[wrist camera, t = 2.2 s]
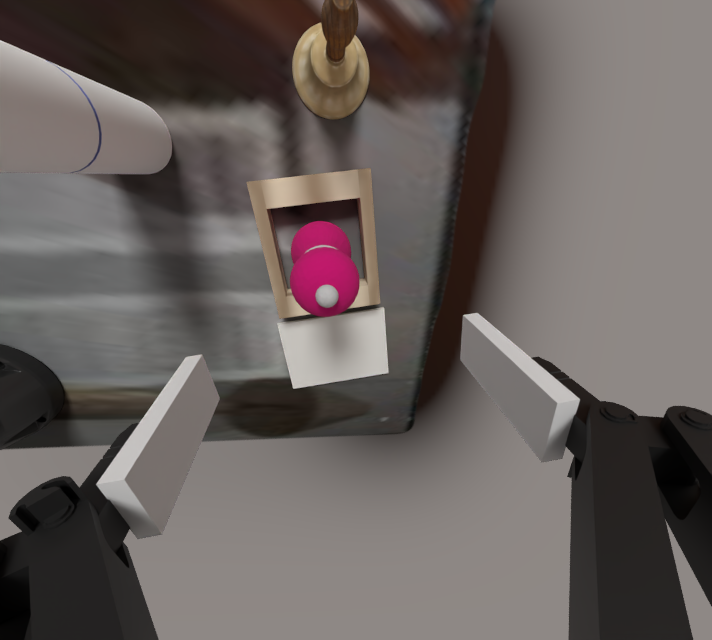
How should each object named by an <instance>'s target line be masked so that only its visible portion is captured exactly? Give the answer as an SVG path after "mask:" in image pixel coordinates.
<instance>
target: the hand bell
mask: <svg viewBox="0 0 712 640" xmlns="http://www.w3.org/2000/svg"><path fill="white" fill-rule="evenodd" d="M357 26H358V8H357V4H356V1H355V0H325V1H324V3H323V7H322V14H321V23H319V24H316V25H314V26H312V27H311V28H309V29H308V30H307V31H306V32H305V33H304V34H303V35H302V37H301V38H300V40H299V42H298V44H297V46H296V48H295V52H294V56H293V64H292V71H293V79H294V83H295V87H296V89H297V92H298V94H299V96H300V98H301V100H302V101H303V102H304V104H305V105H306V106H307V107H308V108H309V109H310V110H311V111H312V112H314V113H315V114H317V115H318V116H320V117H323V118H326V119H341V118H344V117H346V116H348V115H350V114H352V113H353V112H354V111H355V110H356V109H357V108H358V107H359V106H360V104H361V103H362V101H363V99H364V97H365V95H366V92H367V89H368V84H369V64H368V59H367V56H366V52H365V50H364V48H363V46H362V44H361V42H360V41H359V39H358V38H357V37H356V35H355V33H356V30H357Z"/></svg>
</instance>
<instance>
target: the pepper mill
mask: <svg viewBox="0 0 712 640" xmlns="http://www.w3.org/2000/svg"><path fill="white" fill-rule="evenodd" d="M291 255H292V260H293V263H294V266H293V269H292V271H291V276H290V287H291V291H292V294H293V297H294V298H295V300H296V302H297V303H298V304H299V305H300V307H301V308H303V309H304V310H305V311H307V312H308V313H310V314H313V315H316V316H320V317H330V316H335V315H338V314H340V313H342V312H344V311H345V310H347V309H348V308H349V307H350V306H351V305H352V304H353V302H354V301H355V299H356V297H357V295H358V291H359V284H360V281H359V274H358V270H357V268H356V266H355V264H354V262H353V261H352V260H351V247H350V243H349V240H348V238H347V236H346V234H345V233H344V232H343V231H342V230H341V229H340V228H339V227H338V226H336V225H334V224H332V223H330V222H325V221H315V222H311V223H309V224H307V225H305V226H303V227H302V228H301V229H300V230H299V231H298V232H297V233H296V235H295V237H294V239H293V242H292V246H291Z"/></svg>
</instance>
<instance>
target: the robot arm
mask: <svg viewBox="0 0 712 640" xmlns="http://www.w3.org/2000/svg"><path fill="white" fill-rule="evenodd" d="M460 360H461V361H462V362H463V364H464V365H465V366H466V368H467V369H468V370H469V371H470V373H471V374H472V375H473V376H474V378H475V379H476V380H477V381H478V383H479V384H480V385H481V386H482V387H483V389H484V390H485V391H486V393H487V394H488V395H489V396H490V398H491V399H492V400H493V401H494V403H495V404H496V405H497V406H498V407H499V409H500V410H501V412H502V413H503V414H504V415H505V417H506V418H507V419H508V420H509V422H510V423H511V424H512V425H513V427H514V428H515V429H516V430H517V432H518V433H519V434H520V435H521V436H522V438H523V439H524V441H525V442H526V443H527V444H528V445H529V447H530V448H531V449H532V451H533V452H534V453H535V454H536V456H537V457H538V458H539V459H540V461H541V462H547V461H552V460H558V459H562V457H563V454H564V451H565V447H567V448H568V449H569V450H570V451H571V452H572V453H573V454H574V458H573V461H572V464H571V467H570V470H569V473H568V476H567V477H570V478H571V477H572V492H571V493H572V494H571V498H572V499H571V544H570V545H571V546H570V596H569V640H693V637H692V633H691V629H690V625H689V620H688V615H687V611H686V607H685V603H684V598H683V594H682V590H681V586H680V581H679V577H678V573H677V569H676V564H675V560H674V556H673V551H672V547H671V542H670V539H669V534H668V530H667V525H666V521H667V523H668V525H669V527H670V528H671V530H672V532H673V534H674V536H675V538H676V540H677V542H678V544H679V546H680V548H681V549H682V551H683V553H684V555H685V557H686V559H687V561H688V563H689V565H690V567H691V568H692V570H693V572H694V574H695V576H696V578H697V580H698V582H699V583H700V585H701V587H702V589H703V591H704V593H705V595H706V597H707V599H708V601H709V602H710V604H711V606H712V415H710V414H708V413H706V412H704V411H701V410H698V409H695V408H690V407H686V406H673V407H670V408H668V409H667V411H666V414H665V415H664V417H663V418H662V417H648V416H638V415H637V414H636V413H634V412H633V411H632V410H630V409H628V408H626V407H624V406H622V405H619V404H616V403H613V402H606V401H601V402H600V401H599V400H598V399H597V398H595V397H594V396H593V395H591V394H590V393H589V392H588V391H586V390H585V389H584V388H583V387H581V386H580V385H579V384H578V383H576V382H575V381H574V380H572V379H570V378H569V376H567V375H566V374H565V373H563V372H561V370H560V369H558V368H557V367H556V366H555V365H553V364H552V363H551V362H549V361H546V360H544V359H542V358H540V357H533V358H530V357H529V356H528V355H527V354H526V353H524V352H523V351H522V350H521V349H520V348H519V347H517V346H516V345H515V344H514V343H513V342H511V341H510V340H509V339H508V338H507V337H505V336H504V335H503V334H502V333H501V332H499V331H498V330H497V329H496V328H495V327H494V326H492V325H491V324H490V323H489V322H488V321H486V320H485V319H484V318H483V317H482V316H480V315H479V314H478V313H474V314H468V315H463V325H462V341H461V356H460ZM219 399H220V398H219V395H218V393H217V390H216V388H215V385H214V383H213V380H212V378H211V375H210V373H209V370H208V368H207V365H206V362H205V360H204V357H203V355H196V356H189V357H186V358H185V359H184V361H183V362H182V364H181V365H180V366H179V368H178V369H177V371H176V372H175V373H174V375H173V376H172V378H171V379H170V380H169V382H168V383H167V385H166V386H165V388H164V389H163V390H162V392H161V393H160V395H159V396H158V397H157V399H156V400H155V402H154V403H153V405H152V406H151V407H150V409H149V410H148V412H147V413H146V414H145V416H144V417H143V419H142V420H141V421H140V423H136V424H132V425H131V426H129V427H128V428H127V429H126V430H125V431H123V432H122V433H121V434H120V435H119V436H118V437H117V439H116V440H115V441H114V443H113V444H112V445H111V447H110V449H108V451H107V452H106V453H105V455H104V456H103V459H101V460H100V462H99V463H98V464H97V465H96V467H95V468H94V469H93V471H92V472H91V473H90V475H89V476H88V477H87V479H86V480H85V481H84V483H83V484H82V485H81V487H80V488H79V487H78V486H77V484H76V483H75V482H74V481H73V480H72V478H70V477H66V476H62V477H58V478H54V479H51V480H49V481H47V482H45V483H43V484H41V485H39V486H38V487H36V488H34V489H33V490H31V491H30V492H29V493H27V494H26V495H25V496H24V497H23V498H22V499H21V500H19V501H18V503H17V504H16V505H15V506H14V507H13V509H12V510H11V512H10V515H9V519H10V520H11V521H12V522H13V523H14V524H15V525H16V526H17V527H18V528H19V529H21V530H22V532H20V533H17V534H15V535H12V536H10V537H8V538H5V539H3V540H1V541H0V640H158V637H157V634H156V631H155V628H154V625H153V622H152V619H151V616H150V613H149V610H148V607H147V604H146V601H145V598H144V595H143V592H142V589H141V586H140V583H139V580H138V577H137V574H136V571H135V568H134V566H133V562H132V559H131V557H130V553H129V551H128V548H127V546H126V545H125V544H124V543H123V540H124V538H125V537H126V535H127V533H128V531H129V529H130V530H131V531H132V532H133V534H134V535H135V536H136V537H137V539H140V538H146V537H151V536H156V535H161V534H162V533H163V531H164V528H165V526H166V524H167V522H168V519H169V517H170V515H171V512H172V509H173V507H174V505H175V503H176V500H177V498H178V496H179V493H180V491H181V489H182V486H183V484H184V482H185V479H186V476H187V474H188V472H189V470H190V467H191V465H192V463H193V460H194V458H195V456H196V453H197V451H198V449H199V446H200V444H201V441H202V439H203V437H204V434H205V432H206V430H207V427H208V425H209V423H210V420H211V418H212V416H213V413H214V411H215V408H216V406H217V404H218V401H219ZM63 403H64V393H63V389H62V387H61V384H60V382H59V381H58V379H57V378H56V376H55V375H54V374H53V373H52V372H51V371H50V370H49V369H48V368H47V367H46V366H45V365H43V364H42V363H41V362H39V361H38V360H36V359H35V358H33V357H32V356H30V355H28V354H26V353H24V352H22V351H19V350H17V349H14V348H11V347H8V346H5V345H1V344H0V450H2V449H4V448H6V447H7V446H9V445H11V444H13V443H15V442H17V441H19V440H21V439H23V438H25V437H27V436H29V435H31V434H33V433H35V432H37V431H38V430H40V429H41V428H43V427H44V426H46V425H47V424H48V423H49V422H50V421H51V420H52V419H53V418H54V417H55V416H56V415H57V414H58V413H59V412H60V411H61V409H62V406H63ZM665 519H666V521H665Z"/></svg>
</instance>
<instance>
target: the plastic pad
mask: <svg viewBox="0 0 712 640" xmlns="http://www.w3.org/2000/svg"><path fill="white" fill-rule="evenodd" d="M277 325H278V329H279V333H280V337H281V341H282V345H283V349H284V353H285V357H286V361H287V365H288V369H289V373H290V377H291V381H292V385H293V389H296V388H302V387H308V386H314V385H320V384H326V383H332V382H338V381H344V380H350V379H356V378H362V377H368V376H374V375H380V374H386V373H388V360H387V344H386V329H385V314H384V307H382V308H375V309H369V310H362V311H355V312H348V313H342V314H338V315H335V316H330V317H315V318H308V319H302V320H295V321H288V322H282V323H278V324H277Z"/></svg>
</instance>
